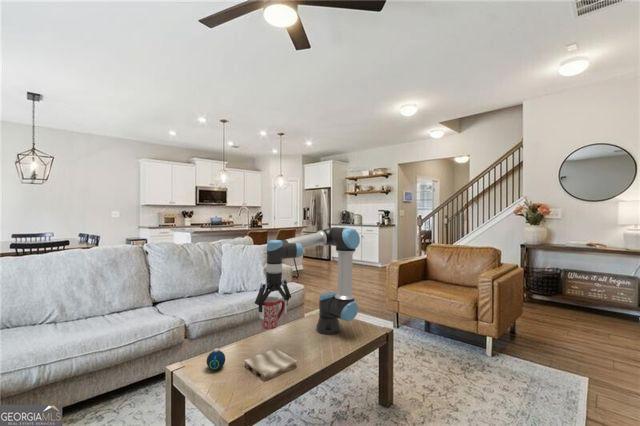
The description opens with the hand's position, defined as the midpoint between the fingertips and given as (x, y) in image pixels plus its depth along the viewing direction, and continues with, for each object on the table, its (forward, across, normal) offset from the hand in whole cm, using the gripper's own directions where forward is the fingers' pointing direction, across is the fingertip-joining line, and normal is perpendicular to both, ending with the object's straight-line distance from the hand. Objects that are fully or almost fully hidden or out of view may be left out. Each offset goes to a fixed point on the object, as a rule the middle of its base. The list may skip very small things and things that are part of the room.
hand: (273, 315), depth 150 cm
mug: (+5, 0, 0) cm, 5 cm away
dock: (+23, +2, +2) cm, 24 cm away
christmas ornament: (+24, +23, -14) cm, 36 cm away
